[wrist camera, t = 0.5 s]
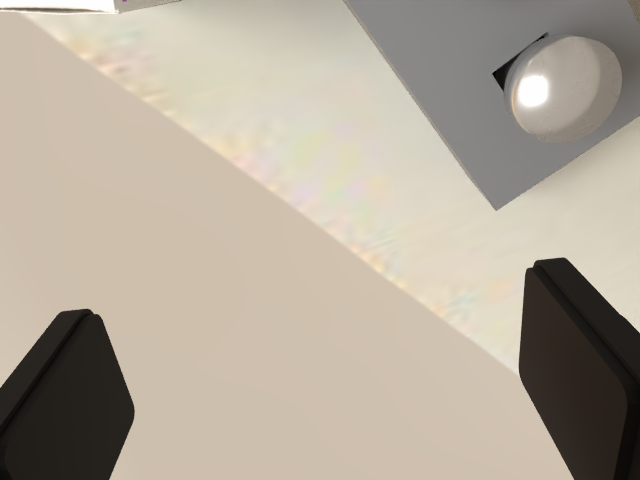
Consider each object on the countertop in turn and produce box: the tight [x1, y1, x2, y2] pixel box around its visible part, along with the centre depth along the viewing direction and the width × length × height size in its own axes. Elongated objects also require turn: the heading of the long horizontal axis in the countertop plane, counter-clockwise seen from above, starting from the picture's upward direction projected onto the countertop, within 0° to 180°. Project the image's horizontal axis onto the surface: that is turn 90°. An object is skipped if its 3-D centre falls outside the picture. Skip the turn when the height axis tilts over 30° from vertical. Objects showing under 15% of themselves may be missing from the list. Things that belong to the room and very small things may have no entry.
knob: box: [496, 34, 622, 143], centre depth 29 cm, size 5×5×7 cm
